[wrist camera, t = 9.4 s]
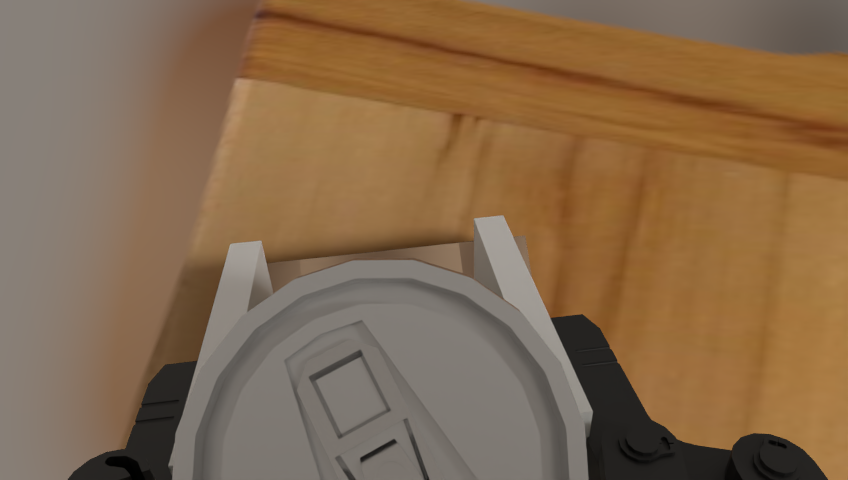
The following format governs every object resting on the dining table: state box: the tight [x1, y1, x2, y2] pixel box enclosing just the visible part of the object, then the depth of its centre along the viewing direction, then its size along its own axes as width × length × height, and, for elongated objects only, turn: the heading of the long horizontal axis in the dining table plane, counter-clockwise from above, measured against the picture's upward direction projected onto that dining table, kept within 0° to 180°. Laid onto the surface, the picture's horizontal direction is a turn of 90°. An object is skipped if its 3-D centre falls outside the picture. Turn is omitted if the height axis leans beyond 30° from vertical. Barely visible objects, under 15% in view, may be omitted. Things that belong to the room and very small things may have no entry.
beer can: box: [172, 258, 589, 480], centre depth 13 cm, size 5×5×12 cm
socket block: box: [267, 236, 532, 294], centre depth 27 cm, size 13×13×4 cm
